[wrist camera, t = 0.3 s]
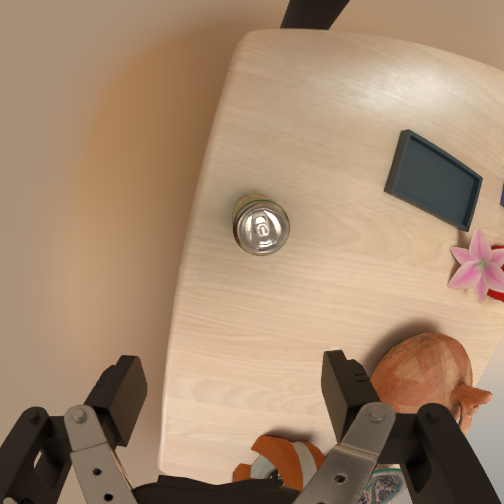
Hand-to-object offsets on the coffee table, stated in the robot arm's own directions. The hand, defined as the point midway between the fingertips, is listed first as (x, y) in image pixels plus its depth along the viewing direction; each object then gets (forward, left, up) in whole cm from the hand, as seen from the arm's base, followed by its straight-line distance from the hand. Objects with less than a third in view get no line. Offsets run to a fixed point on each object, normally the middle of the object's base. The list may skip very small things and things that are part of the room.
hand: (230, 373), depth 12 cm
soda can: (0, +5, -27) cm, 27 cm away
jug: (+36, +4, -27) cm, 45 cm away
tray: (+16, +27, -27) cm, 41 cm away
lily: (+30, +24, -27) cm, 46 cm away
